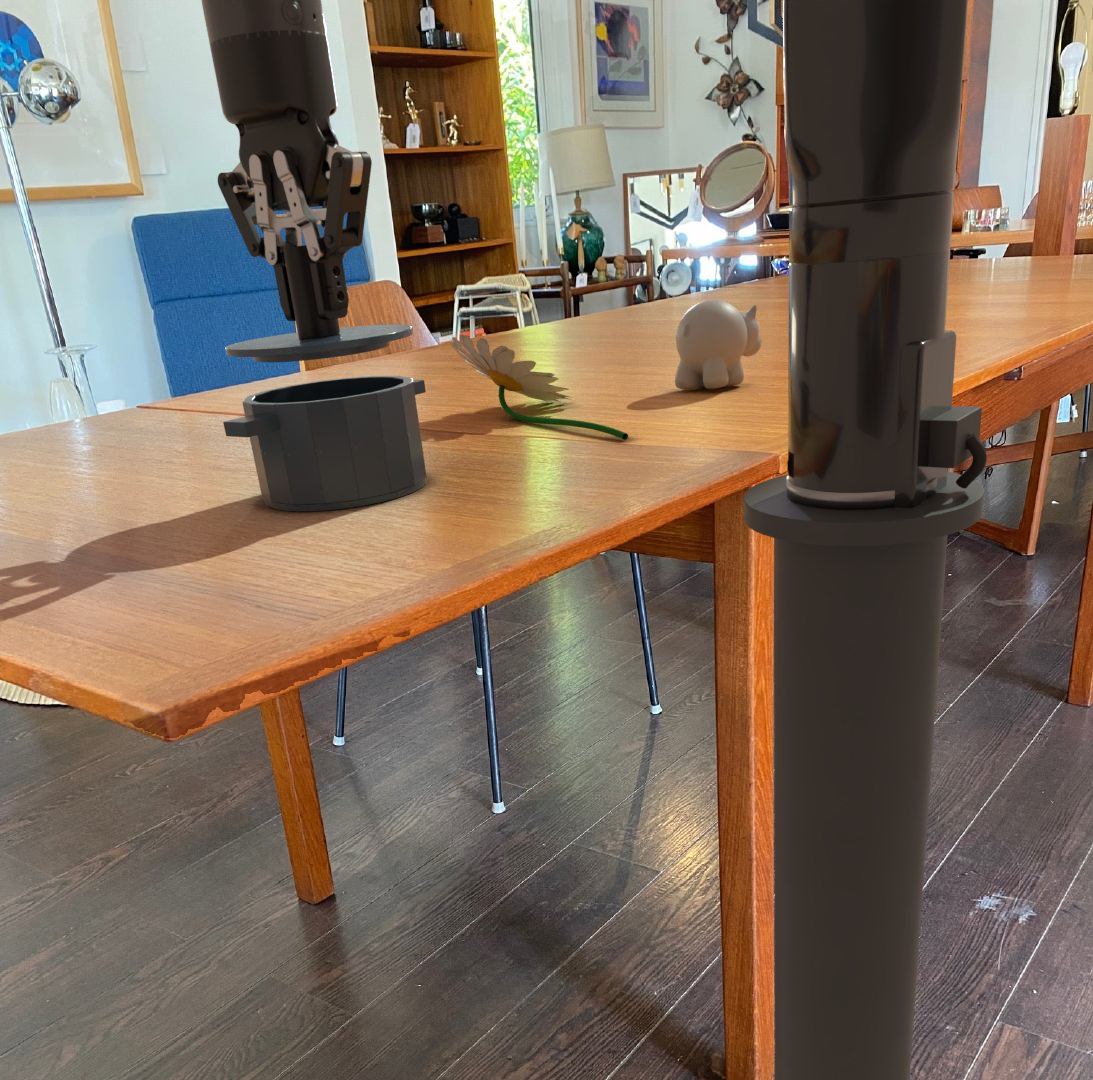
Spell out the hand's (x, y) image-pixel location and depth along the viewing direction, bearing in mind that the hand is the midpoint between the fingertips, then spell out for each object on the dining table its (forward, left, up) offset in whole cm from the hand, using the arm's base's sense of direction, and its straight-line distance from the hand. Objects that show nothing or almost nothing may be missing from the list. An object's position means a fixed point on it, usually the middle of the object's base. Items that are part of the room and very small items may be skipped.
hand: (316, 318), depth 76 cm
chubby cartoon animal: (-6, -49, -13) cm, 51 cm away
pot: (0, 0, -12) cm, 12 cm away
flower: (+2, -27, -13) cm, 30 cm away
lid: (0, 0, -2) cm, 2 cm away
